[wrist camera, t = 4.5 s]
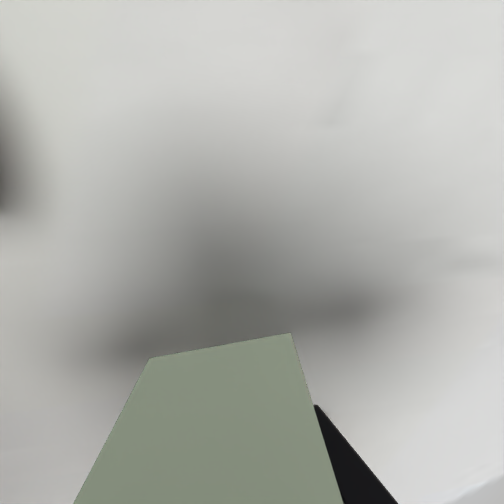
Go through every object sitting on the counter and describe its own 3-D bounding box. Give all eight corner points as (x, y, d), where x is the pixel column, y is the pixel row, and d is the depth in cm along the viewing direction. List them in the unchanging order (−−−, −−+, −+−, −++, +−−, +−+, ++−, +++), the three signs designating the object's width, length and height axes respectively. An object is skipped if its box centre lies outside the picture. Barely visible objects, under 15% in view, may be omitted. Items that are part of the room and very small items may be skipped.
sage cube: (186, 458, 10) (134, 714, 5) (149, 358, 9) (32, 583, 4) (307, 437, 10) (368, 679, 5) (290, 332, 8) (351, 532, 4)
